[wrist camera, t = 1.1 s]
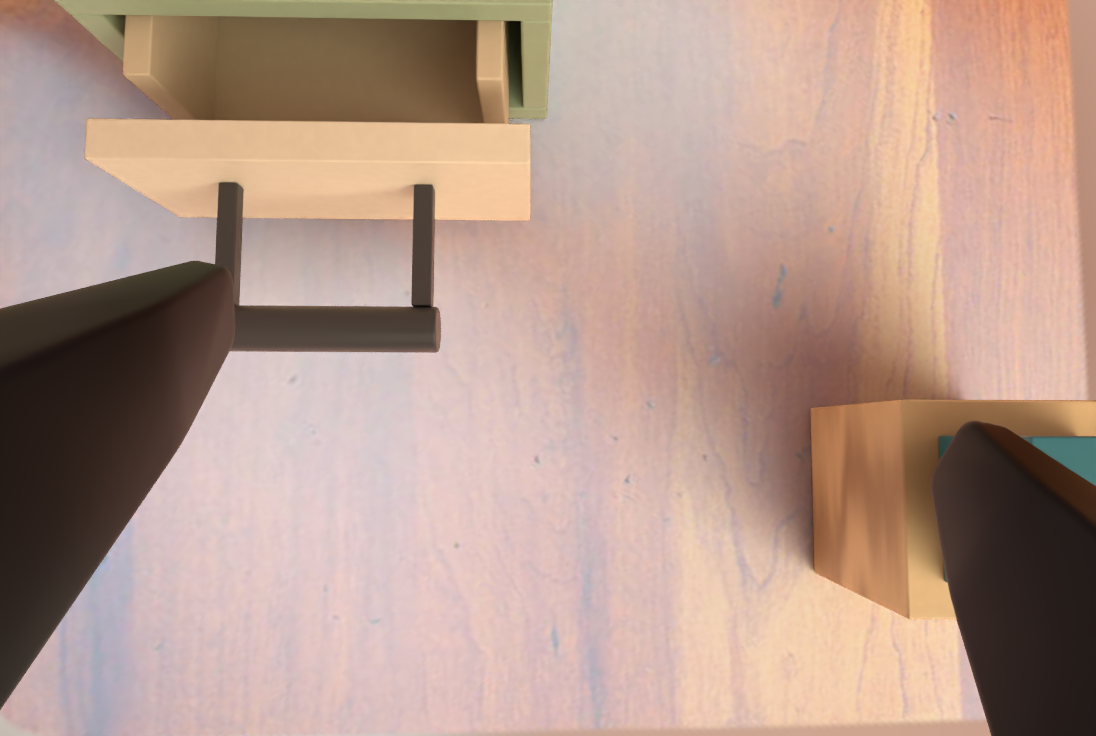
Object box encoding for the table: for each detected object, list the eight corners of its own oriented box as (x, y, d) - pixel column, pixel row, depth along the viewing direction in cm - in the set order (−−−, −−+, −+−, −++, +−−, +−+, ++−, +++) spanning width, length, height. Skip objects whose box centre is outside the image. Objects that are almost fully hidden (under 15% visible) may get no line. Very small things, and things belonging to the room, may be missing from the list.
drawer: (529, 364, 27) (529, 344, 21) (172, 361, 27) (72, 341, 21) (532, -157, 29) (533, -307, 23) (196, -164, 29) (110, -317, 23)
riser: (977, 573, 28) (1125, 619, 21) (813, 573, 28) (908, 619, 21) (970, 408, 28) (1111, 400, 22) (809, 408, 28) (900, 399, 21)
